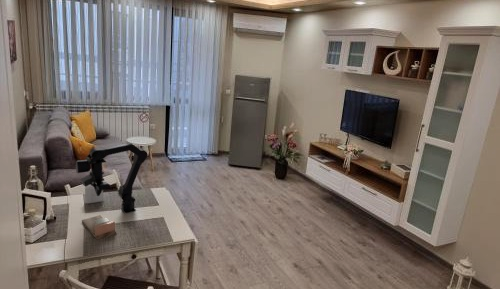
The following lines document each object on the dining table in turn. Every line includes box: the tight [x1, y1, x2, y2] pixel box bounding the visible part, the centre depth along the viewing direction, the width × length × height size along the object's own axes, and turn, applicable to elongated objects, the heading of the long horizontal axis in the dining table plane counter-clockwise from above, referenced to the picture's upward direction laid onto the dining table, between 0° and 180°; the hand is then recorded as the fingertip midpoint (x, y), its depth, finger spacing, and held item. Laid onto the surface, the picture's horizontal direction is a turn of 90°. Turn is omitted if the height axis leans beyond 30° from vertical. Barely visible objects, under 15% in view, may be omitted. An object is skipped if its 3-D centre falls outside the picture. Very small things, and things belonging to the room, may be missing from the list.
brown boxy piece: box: [81, 214, 117, 240], centre depth 187 cm, size 10×22×6 cm, turn 44°
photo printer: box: [84, 185, 104, 204], centre depth 216 cm, size 10×4×12 cm, turn 123°
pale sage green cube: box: [94, 217, 111, 226], centre depth 184 cm, size 6×5×5 cm
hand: (98, 195), depth 197 cm, fingers closed
